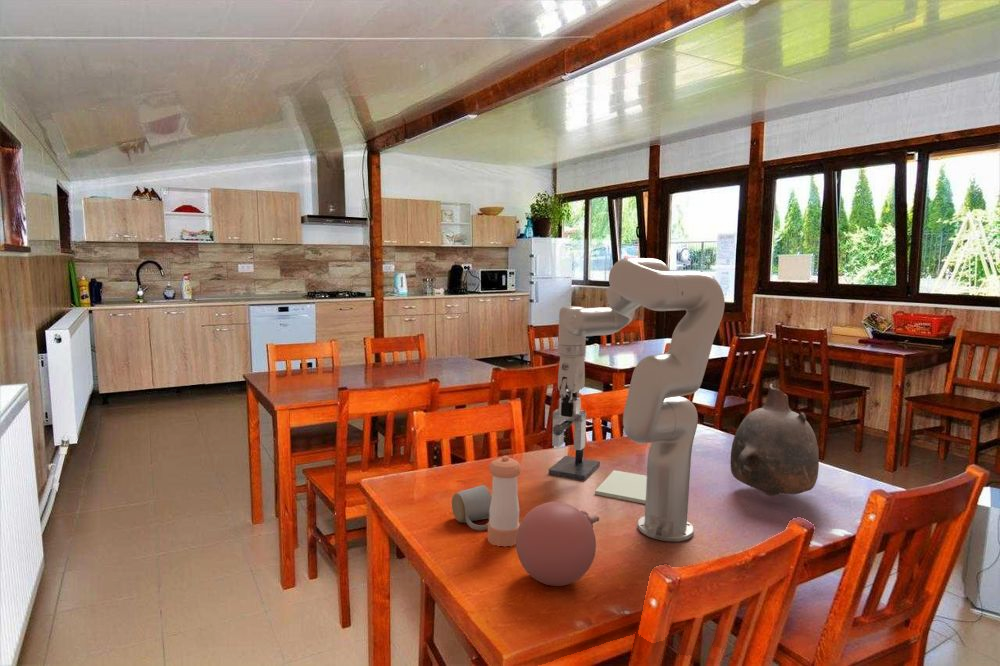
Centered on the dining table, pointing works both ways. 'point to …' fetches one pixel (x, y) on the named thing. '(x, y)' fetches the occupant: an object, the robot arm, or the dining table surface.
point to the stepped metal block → (578, 429)
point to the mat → (624, 486)
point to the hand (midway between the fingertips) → (569, 413)
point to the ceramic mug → (472, 506)
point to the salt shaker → (504, 502)
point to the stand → (572, 460)
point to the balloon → (556, 543)
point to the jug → (775, 449)
